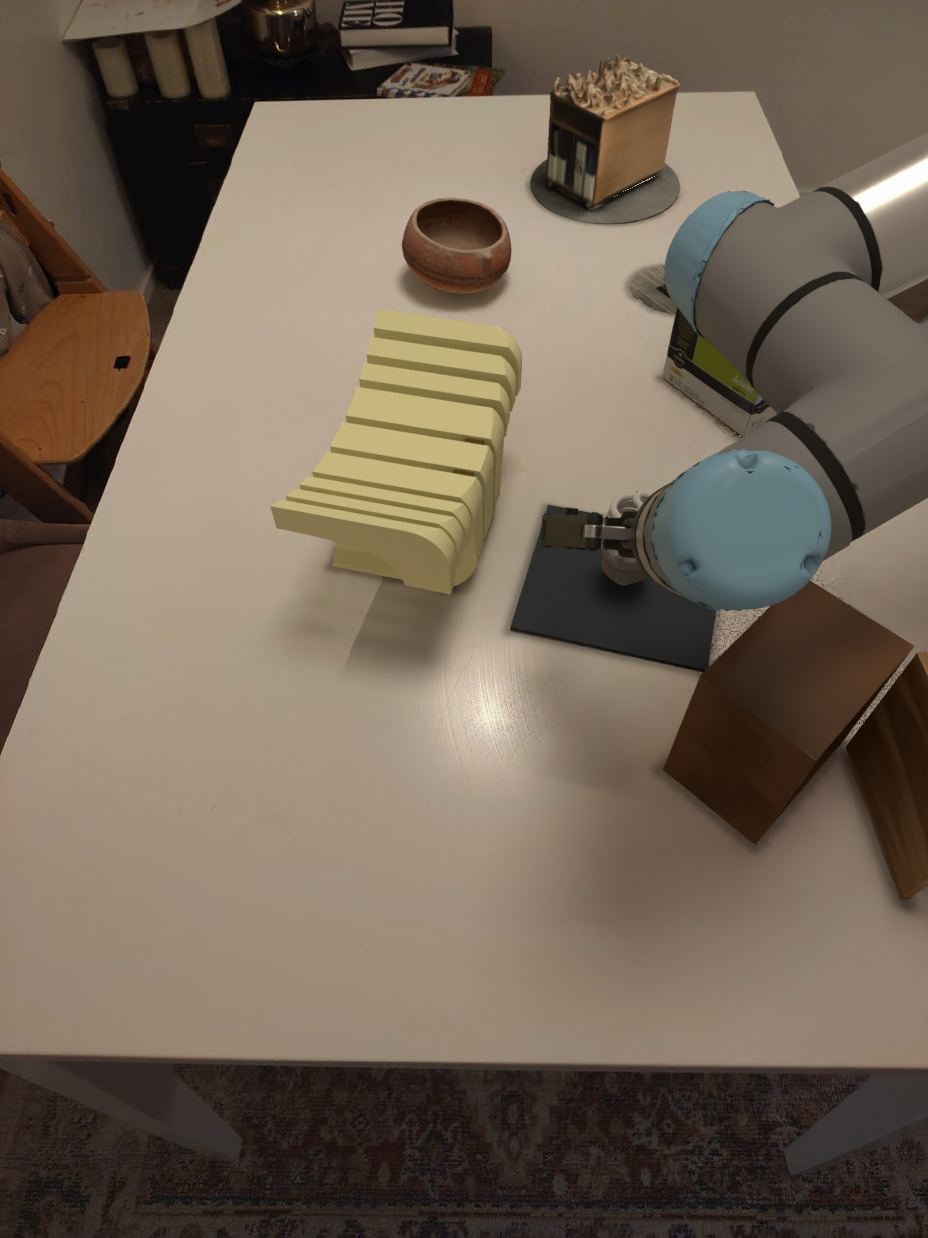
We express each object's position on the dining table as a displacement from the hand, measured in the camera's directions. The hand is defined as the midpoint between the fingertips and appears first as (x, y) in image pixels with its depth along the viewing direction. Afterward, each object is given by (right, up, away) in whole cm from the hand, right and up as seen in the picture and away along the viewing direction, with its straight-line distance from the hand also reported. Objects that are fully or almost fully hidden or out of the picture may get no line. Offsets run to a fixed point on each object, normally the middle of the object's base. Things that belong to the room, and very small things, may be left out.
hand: (657, 539), depth 73 cm
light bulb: (0, -3, +15) cm, 15 cm away
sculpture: (+13, +41, +48) cm, 64 cm away
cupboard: (+9, -20, +3) cm, 22 cm away
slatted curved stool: (-22, +2, +20) cm, 30 cm away
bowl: (-18, +43, +50) cm, 68 cm away
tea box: (+17, +22, +34) cm, 44 cm away
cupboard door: (+21, -24, -1) cm, 32 cm away
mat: (0, -3, +15) cm, 15 cm away
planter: (+7, +66, +66) cm, 94 cm away
